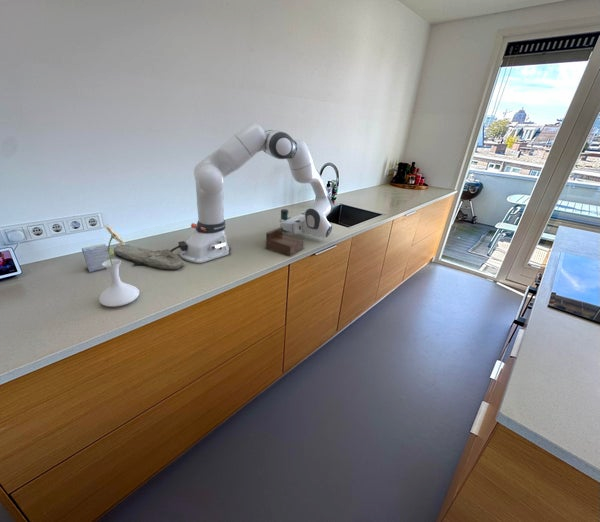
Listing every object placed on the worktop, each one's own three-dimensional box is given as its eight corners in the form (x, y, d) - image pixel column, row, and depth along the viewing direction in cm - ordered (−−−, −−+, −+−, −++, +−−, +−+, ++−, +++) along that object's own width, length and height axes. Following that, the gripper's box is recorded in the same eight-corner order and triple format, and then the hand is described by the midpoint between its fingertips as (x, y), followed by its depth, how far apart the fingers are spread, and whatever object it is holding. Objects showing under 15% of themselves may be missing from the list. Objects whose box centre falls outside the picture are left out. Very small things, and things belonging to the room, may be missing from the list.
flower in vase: (136, 308, 91) (120, 234, 81) (95, 312, 88) (72, 236, 77) (144, 287, 103) (130, 220, 92) (107, 290, 99) (89, 221, 88)
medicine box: (110, 262, 117) (105, 243, 113) (113, 266, 114) (108, 246, 110) (87, 268, 112) (81, 247, 108) (89, 272, 109) (83, 251, 105)
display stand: (289, 256, 134) (290, 240, 131) (265, 248, 141) (266, 233, 137) (302, 248, 144) (304, 233, 140) (280, 241, 150) (280, 226, 146)
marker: (284, 232, 163) (285, 211, 157) (278, 230, 164) (279, 210, 159) (288, 230, 166) (289, 210, 161) (282, 228, 168) (283, 208, 162)
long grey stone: (128, 250, 131) (108, 259, 123) (125, 239, 129) (104, 248, 120) (190, 263, 120) (173, 274, 112) (188, 251, 118) (170, 262, 109)
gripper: (313, 215, 163) (293, 210, 169) (294, 223, 147) (272, 217, 153) (312, 225, 166) (292, 220, 172) (293, 235, 150) (272, 229, 156)
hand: (282, 219), depth 163 cm, fingers closed on marker, 4 cm apart
